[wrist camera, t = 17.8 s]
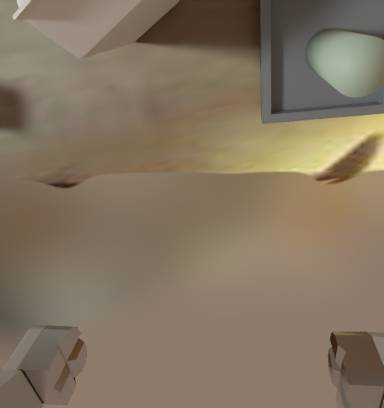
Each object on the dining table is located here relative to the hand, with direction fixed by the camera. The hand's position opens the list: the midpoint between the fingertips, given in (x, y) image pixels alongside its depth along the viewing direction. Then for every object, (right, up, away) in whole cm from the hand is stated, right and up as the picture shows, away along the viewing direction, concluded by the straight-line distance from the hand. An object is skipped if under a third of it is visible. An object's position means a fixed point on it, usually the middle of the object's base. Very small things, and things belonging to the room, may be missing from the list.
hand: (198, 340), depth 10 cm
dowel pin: (+14, +21, +25) cm, 35 cm away
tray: (+14, +21, +25) cm, 36 cm away
